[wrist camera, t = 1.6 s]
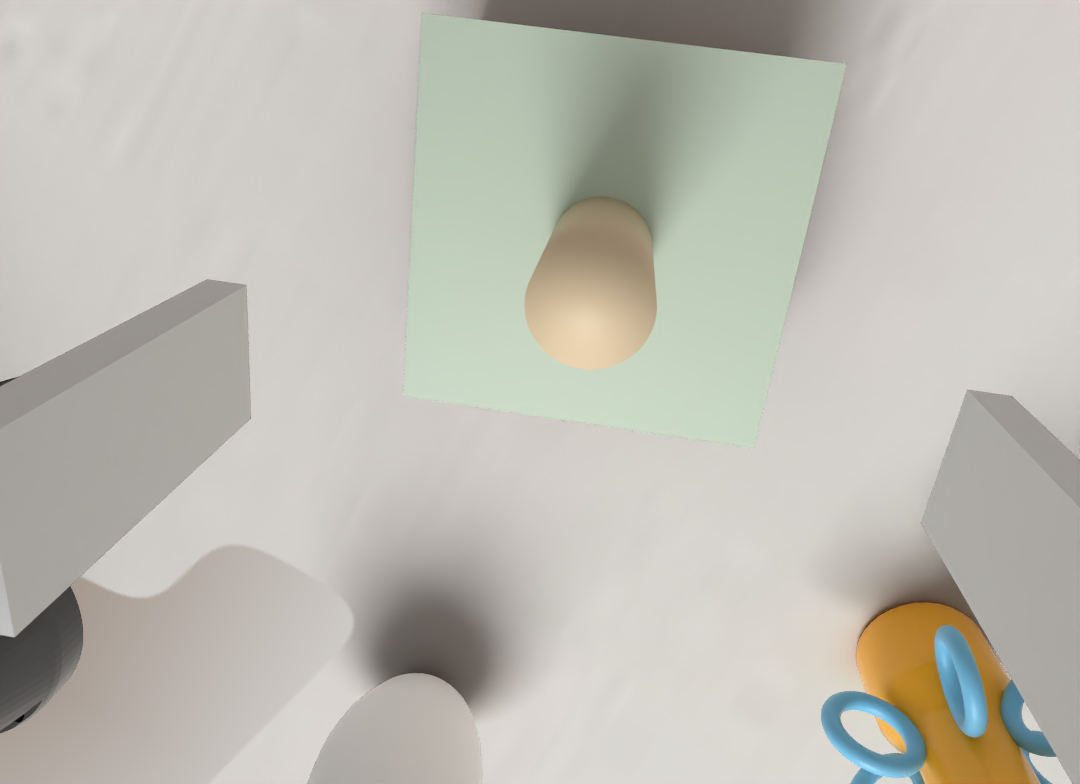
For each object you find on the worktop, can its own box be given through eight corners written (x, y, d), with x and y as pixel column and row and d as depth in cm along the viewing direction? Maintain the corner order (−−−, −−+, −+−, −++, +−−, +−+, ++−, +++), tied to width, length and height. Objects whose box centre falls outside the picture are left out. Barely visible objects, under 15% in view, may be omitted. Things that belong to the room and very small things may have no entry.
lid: (411, 384, 31) (339, 488, 24) (430, 14, 26) (347, -2, 19) (750, 434, 31) (786, 558, 23) (837, 63, 26) (922, 67, 18)
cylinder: (955, 506, 37) (1146, 777, 23) (1095, 644, 39) (1347, 970, 25) (749, 651, 41) (805, 953, 27) (883, 770, 43) (999, 1107, 29)
